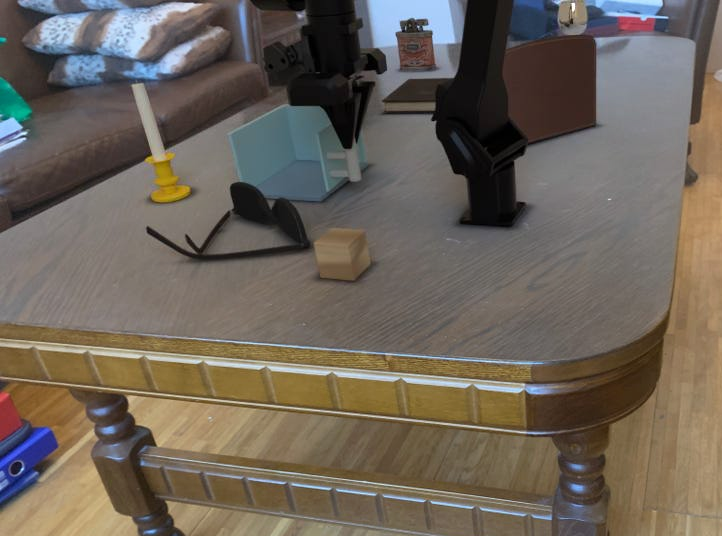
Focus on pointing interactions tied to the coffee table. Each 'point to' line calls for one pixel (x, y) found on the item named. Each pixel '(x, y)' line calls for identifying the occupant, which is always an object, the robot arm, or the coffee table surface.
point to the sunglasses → (253, 208)
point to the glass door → (337, 158)
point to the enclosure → (285, 153)
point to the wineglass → (572, 17)
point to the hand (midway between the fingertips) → (350, 146)
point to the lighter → (415, 46)
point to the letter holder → (551, 85)
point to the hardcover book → (413, 97)
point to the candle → (158, 152)
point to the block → (342, 254)
